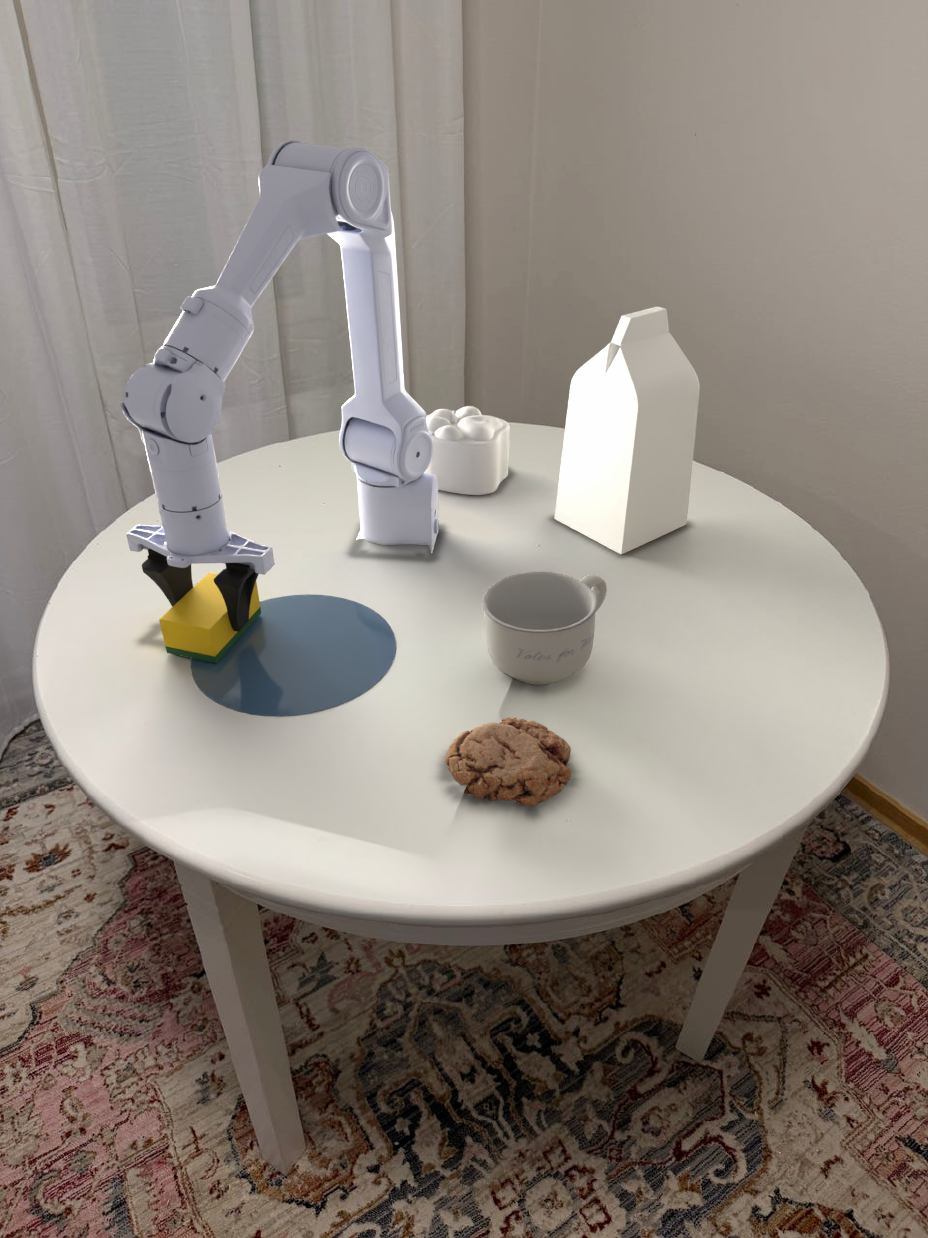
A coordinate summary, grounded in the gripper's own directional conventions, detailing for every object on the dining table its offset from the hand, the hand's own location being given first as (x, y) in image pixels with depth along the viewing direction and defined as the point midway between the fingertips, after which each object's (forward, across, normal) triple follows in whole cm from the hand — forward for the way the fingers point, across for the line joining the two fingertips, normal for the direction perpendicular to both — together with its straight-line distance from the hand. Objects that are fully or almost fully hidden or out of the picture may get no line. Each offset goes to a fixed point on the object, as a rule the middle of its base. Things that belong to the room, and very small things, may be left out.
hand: (213, 620), depth 88 cm
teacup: (+3, +33, +8) cm, 34 cm away
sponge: (+1, 0, 0) cm, 1 cm away
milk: (+3, +35, +39) cm, 52 cm away
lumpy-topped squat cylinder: (+3, +11, +45) cm, 47 cm away
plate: (+3, +9, 0) cm, 9 cm away
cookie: (+3, +33, -9) cm, 34 cm away
